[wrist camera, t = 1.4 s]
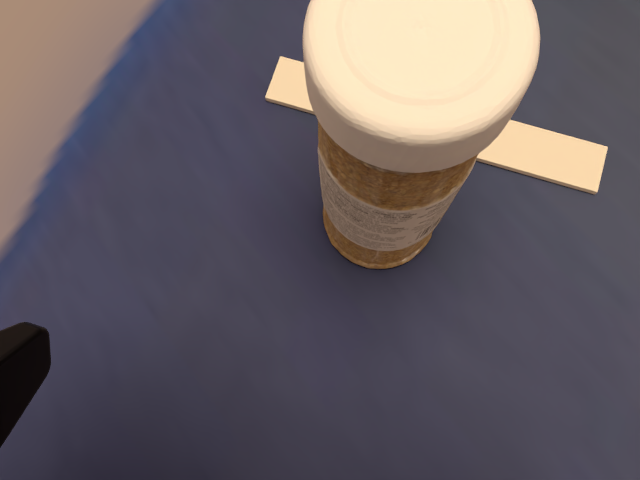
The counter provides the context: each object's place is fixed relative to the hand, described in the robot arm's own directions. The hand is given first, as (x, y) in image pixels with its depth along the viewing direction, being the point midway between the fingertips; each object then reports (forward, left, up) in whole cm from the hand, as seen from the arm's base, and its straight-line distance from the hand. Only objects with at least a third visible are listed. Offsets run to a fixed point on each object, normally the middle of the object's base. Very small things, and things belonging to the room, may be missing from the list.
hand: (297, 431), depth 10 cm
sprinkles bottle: (+8, 0, -13) cm, 15 cm away
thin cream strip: (+12, -1, -13) cm, 18 cm away
